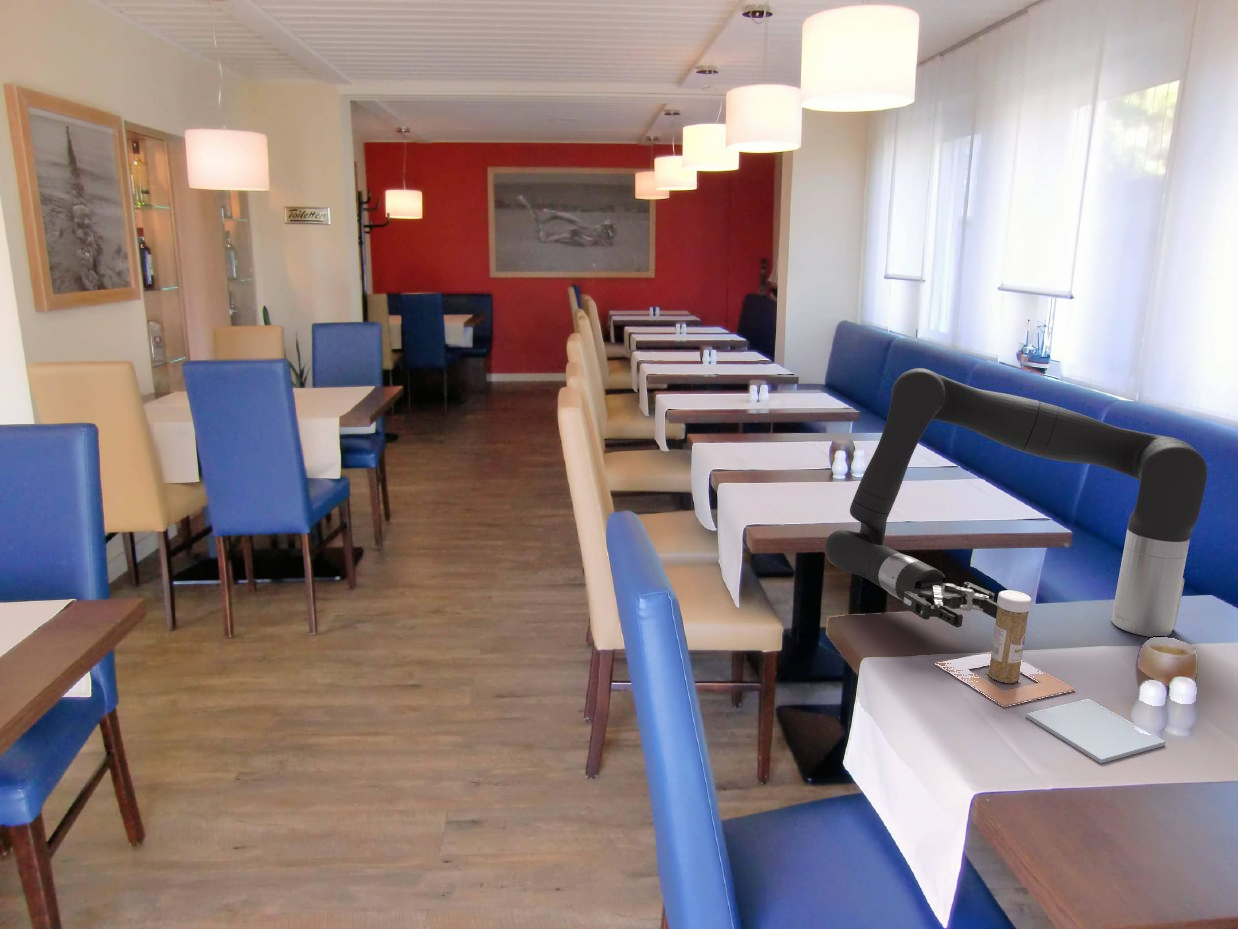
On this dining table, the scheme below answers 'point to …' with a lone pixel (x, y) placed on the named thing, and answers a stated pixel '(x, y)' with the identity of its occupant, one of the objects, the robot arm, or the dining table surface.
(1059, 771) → the dining table surface
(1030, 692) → the peach square frame
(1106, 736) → the pad
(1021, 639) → the sprinkles bottle
